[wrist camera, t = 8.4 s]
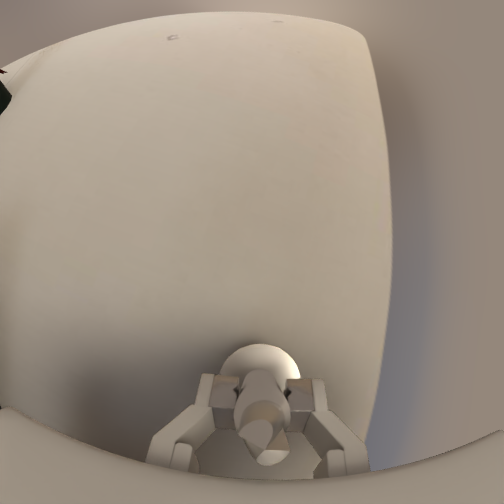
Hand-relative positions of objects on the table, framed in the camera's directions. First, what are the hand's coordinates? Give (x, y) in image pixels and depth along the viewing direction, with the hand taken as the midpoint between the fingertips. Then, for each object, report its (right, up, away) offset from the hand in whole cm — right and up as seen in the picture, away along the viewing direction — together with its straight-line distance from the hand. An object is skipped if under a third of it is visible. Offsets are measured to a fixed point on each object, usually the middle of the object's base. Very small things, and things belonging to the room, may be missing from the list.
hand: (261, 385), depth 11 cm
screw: (0, -3, +7) cm, 7 cm away
